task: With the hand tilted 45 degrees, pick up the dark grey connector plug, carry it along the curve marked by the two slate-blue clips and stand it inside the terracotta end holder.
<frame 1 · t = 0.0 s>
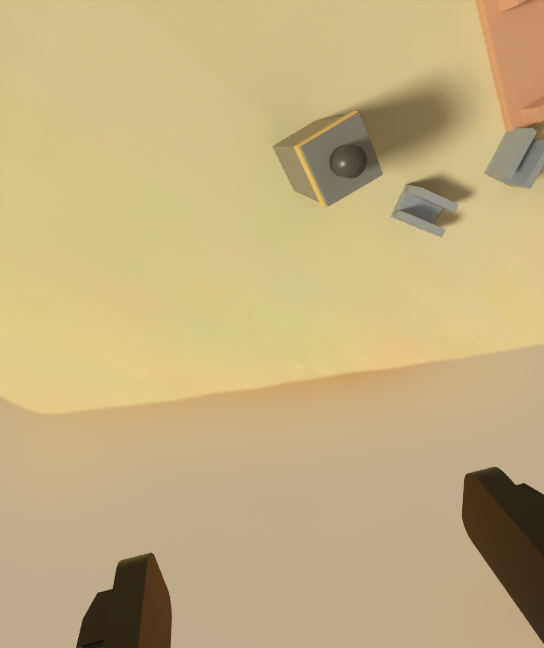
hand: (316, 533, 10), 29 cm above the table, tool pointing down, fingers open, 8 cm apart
plug: (304, 156, 35), on the table
clip b: (508, 158, 38), on the table
clip a: (416, 208, 38), on the table
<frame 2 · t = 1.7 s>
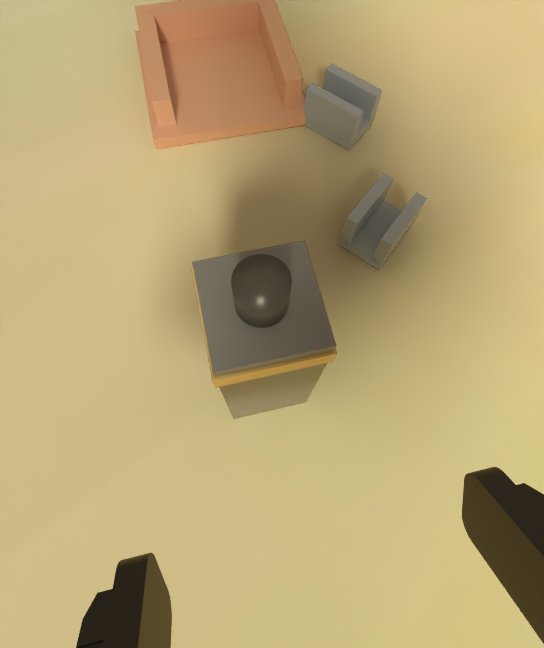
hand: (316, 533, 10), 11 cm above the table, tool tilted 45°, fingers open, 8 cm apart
holder: (220, 81, 31), on the table
plug: (261, 375, 23), on the table
clip b: (337, 124, 30), on the table
clip a: (374, 235, 26), on the table
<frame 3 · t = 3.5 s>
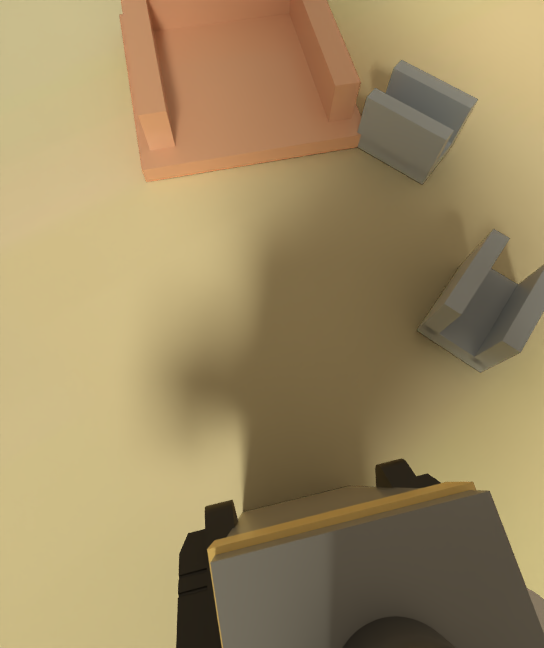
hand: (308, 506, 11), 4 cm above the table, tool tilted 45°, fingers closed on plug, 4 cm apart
holder: (236, 84, 22), on the table
plug: (310, 559, 14), on the table, touching gripper
clip b: (402, 145, 21), on the table
clip a: (470, 315, 18), on the table
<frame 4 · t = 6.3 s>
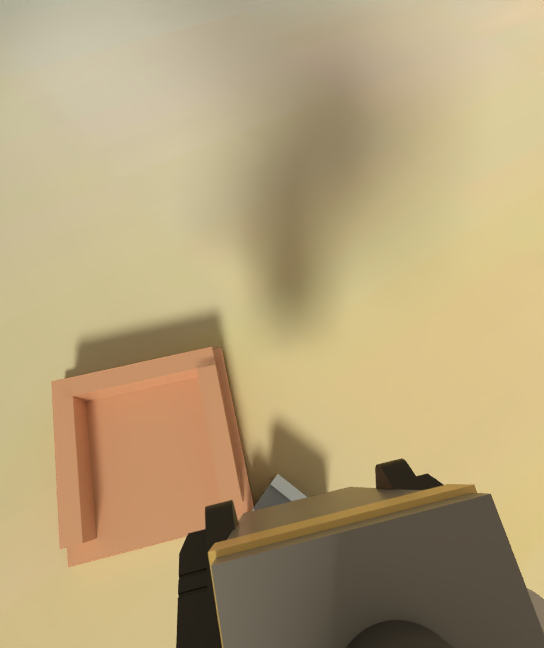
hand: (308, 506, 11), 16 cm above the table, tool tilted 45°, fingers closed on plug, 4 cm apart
holder: (154, 447, 27), on the table
plug: (311, 561, 14), point 12 cm above the table, touching gripper
clip b: (288, 515, 25), on the table
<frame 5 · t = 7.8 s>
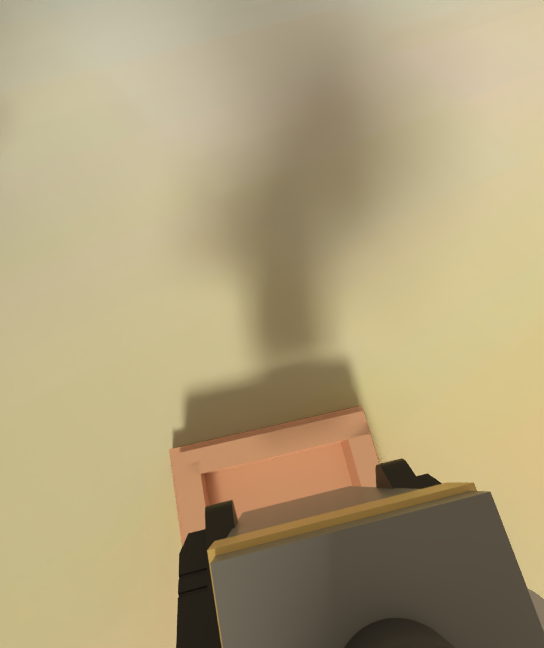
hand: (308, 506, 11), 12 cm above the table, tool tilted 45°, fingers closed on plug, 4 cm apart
holder: (289, 531, 22), on the table
plug: (310, 560, 14), point 8 cm above the table, touching gripper
when the fingers open (6 cm above the table, at t = 9.1 s): plug drops 1 cm, resting on holder.
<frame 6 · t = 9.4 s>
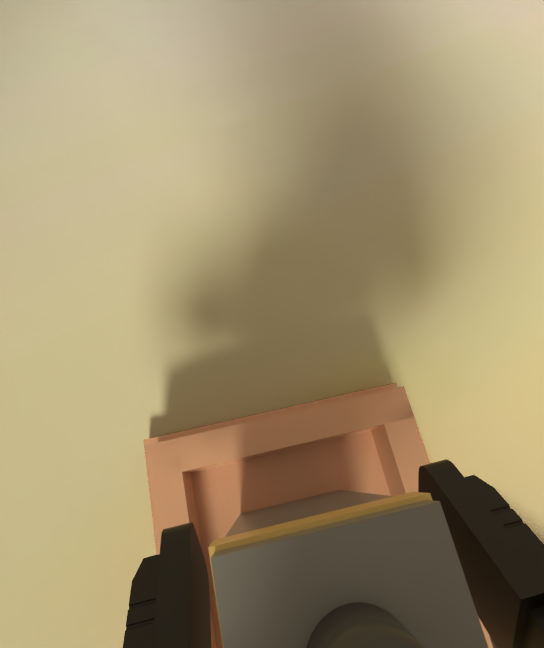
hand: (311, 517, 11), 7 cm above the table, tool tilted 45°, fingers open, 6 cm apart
holder: (304, 549, 16), on the table
plug: (302, 557, 16), point 1 cm above the table, touching holder
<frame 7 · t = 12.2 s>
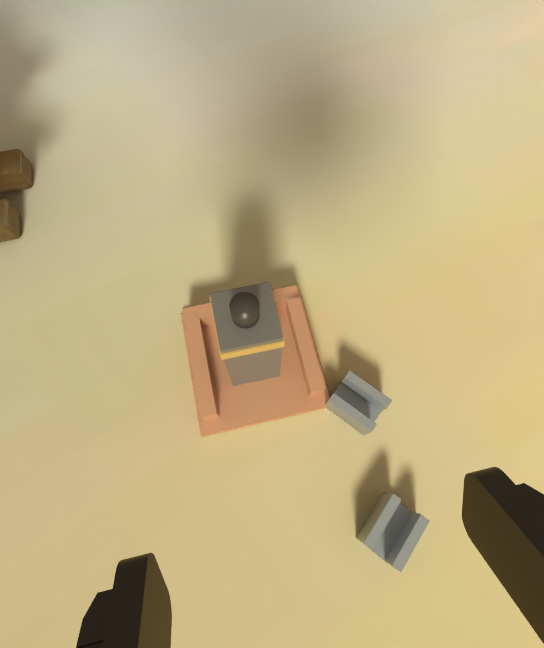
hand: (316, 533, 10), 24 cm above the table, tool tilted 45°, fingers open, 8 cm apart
holder: (253, 359, 37), on the table
plug: (251, 359, 36), point 1 cm above the table, touching holder
clip b: (353, 406, 35), on the table
toy: (1, 207, 42), on the table
clip a: (386, 527, 32), on the table
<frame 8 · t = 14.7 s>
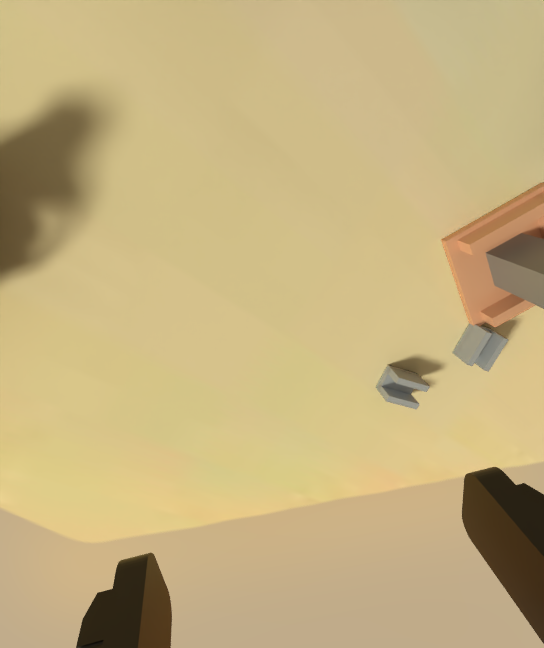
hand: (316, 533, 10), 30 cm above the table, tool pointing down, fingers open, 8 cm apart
holder: (503, 258, 43), on the table
plug: (507, 259, 42), point 1 cm above the table, touching holder
clip b: (471, 340, 46), on the table
clip a: (396, 380, 47), on the table
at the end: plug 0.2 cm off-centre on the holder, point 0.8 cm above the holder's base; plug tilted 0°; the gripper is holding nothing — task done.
